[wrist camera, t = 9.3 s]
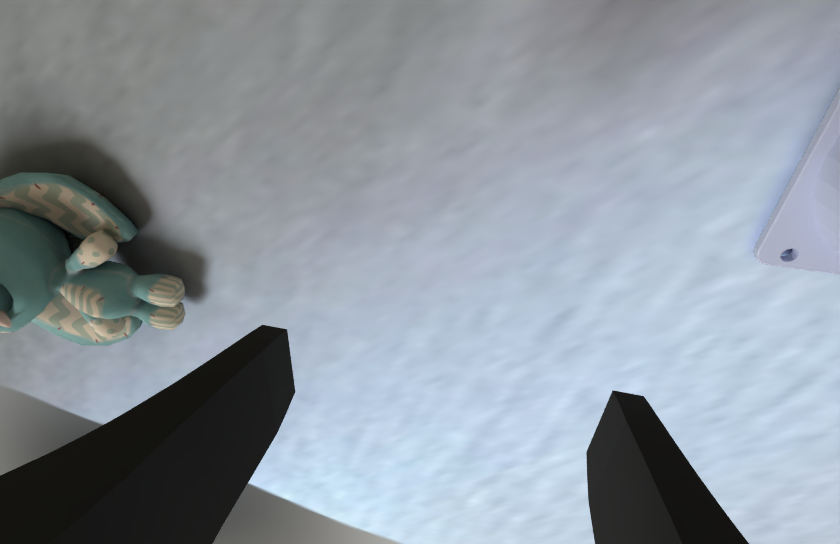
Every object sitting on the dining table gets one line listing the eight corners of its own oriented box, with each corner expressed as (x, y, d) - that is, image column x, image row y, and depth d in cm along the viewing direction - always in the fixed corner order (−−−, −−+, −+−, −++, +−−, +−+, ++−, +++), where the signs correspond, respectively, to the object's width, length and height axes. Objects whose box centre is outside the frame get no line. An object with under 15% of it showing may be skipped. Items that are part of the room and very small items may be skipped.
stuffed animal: (145, 440, 22) (-135, 389, 20) (205, 338, 28) (-8, 292, 26) (130, 271, 16) (-273, 176, 14) (210, 187, 22) (-66, 112, 20)
